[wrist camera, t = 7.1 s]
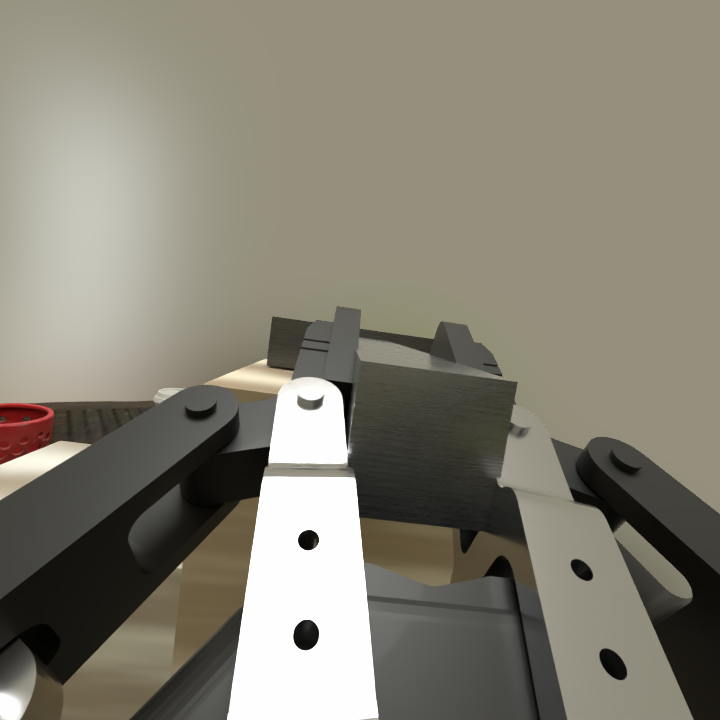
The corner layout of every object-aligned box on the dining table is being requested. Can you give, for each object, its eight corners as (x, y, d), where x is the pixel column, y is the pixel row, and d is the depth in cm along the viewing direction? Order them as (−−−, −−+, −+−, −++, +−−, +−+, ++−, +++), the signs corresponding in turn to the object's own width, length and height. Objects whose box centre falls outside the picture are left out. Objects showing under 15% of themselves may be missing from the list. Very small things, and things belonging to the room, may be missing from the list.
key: (761, 562, 6) (803, 389, 6) (30, 480, 6) (43, 282, 5) (444, 383, 26) (450, 341, 26) (275, 360, 26) (280, 317, 25)
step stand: (418, 1049, 18) (532, 427, 16) (-179, 1026, 17) (-165, 336, 14) (389, 764, 30) (451, 384, 28) (37, 736, 29) (68, 332, 26)
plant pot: (-76, 485, 60) (-73, 414, 59) (7, 458, 73) (11, 399, 72) (-3, 499, 59) (1, 426, 58) (68, 469, 72) (72, 409, 71)
